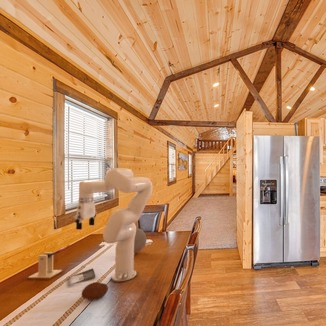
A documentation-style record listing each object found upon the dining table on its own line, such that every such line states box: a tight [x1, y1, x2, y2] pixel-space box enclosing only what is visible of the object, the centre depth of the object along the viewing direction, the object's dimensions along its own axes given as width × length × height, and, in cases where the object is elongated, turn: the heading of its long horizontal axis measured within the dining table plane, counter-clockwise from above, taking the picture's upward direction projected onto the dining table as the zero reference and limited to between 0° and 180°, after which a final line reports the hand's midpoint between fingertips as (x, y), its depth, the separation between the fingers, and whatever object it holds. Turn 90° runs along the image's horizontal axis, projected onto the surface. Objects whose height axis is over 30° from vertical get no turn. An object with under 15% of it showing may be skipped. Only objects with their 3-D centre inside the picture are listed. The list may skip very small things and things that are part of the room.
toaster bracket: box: [27, 251, 63, 279], centre depth 134 cm, size 12×9×13 cm
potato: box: [81, 281, 109, 301], centre depth 112 cm, size 8×11×8 cm
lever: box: [47, 246, 67, 258], centre depth 134 cm, size 12×5×2 cm, turn 91°
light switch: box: [70, 268, 96, 285], centre depth 130 cm, size 11×2×12 cm
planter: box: [134, 227, 148, 254], centre depth 169 cm, size 18×7×19 cm, turn 114°
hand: (85, 227), depth 145 cm, fingers open, 9 cm apart
